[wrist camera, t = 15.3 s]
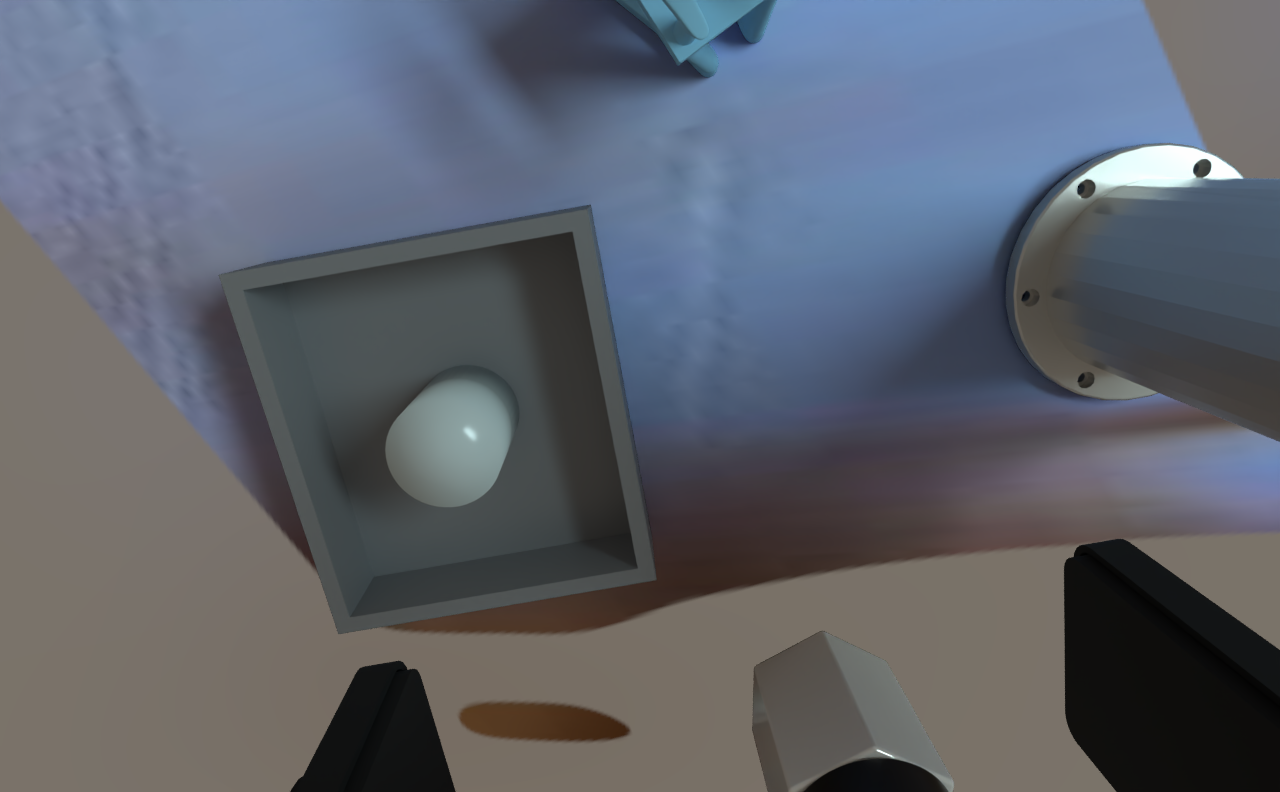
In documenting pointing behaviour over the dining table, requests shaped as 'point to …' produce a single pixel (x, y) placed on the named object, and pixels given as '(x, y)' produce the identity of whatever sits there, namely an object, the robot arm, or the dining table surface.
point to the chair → (700, 25)
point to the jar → (839, 724)
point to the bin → (402, 367)
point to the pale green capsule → (453, 437)
